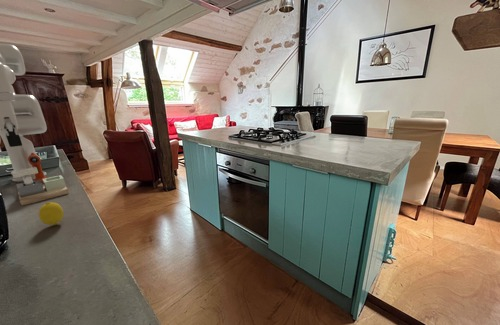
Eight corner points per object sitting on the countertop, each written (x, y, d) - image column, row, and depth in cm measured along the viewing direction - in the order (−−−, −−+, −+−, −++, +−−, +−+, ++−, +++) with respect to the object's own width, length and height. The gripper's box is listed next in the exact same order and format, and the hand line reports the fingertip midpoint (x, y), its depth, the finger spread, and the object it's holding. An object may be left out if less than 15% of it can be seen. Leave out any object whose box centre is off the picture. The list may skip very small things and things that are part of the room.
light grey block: (20, 196, 84) (11, 172, 81) (19, 194, 86) (11, 171, 83) (44, 190, 89) (36, 168, 86) (43, 189, 91) (36, 166, 88)
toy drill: (35, 188, 93) (23, 155, 90) (35, 183, 106) (25, 153, 103) (50, 185, 96) (39, 152, 93) (48, 180, 110) (39, 151, 107)
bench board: (19, 195, 90) (17, 191, 89) (62, 185, 100) (61, 181, 99) (21, 205, 81) (19, 201, 80) (68, 193, 91) (67, 189, 90)
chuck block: (19, 193, 87) (16, 184, 86) (42, 187, 92) (40, 179, 91) (20, 198, 83) (17, 188, 82) (44, 192, 88) (42, 183, 87)
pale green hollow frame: (45, 187, 93) (42, 179, 91) (63, 183, 97) (61, 175, 96) (47, 191, 89) (44, 182, 87) (66, 186, 93) (63, 178, 92)
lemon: (69, 218, 71) (62, 197, 69) (62, 227, 66) (54, 204, 64) (48, 222, 69) (41, 200, 67) (39, 231, 64) (31, 208, 62)
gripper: (-16, 99, 80) (1, 144, 84) (-18, 97, 69) (1, 149, 73) (14, 98, 85) (27, 141, 90) (15, 97, 74) (31, 145, 79)
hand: (15, 144), depth 82 cm, fingers open, 9 cm apart
